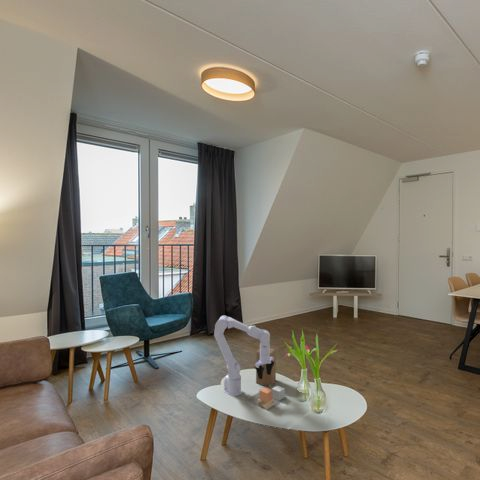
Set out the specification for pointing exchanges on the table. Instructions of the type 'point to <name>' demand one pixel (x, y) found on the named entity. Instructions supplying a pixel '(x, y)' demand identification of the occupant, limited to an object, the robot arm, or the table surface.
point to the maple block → (266, 404)
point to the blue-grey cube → (278, 393)
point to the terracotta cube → (265, 394)
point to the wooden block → (266, 378)
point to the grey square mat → (254, 400)
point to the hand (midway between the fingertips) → (264, 376)
